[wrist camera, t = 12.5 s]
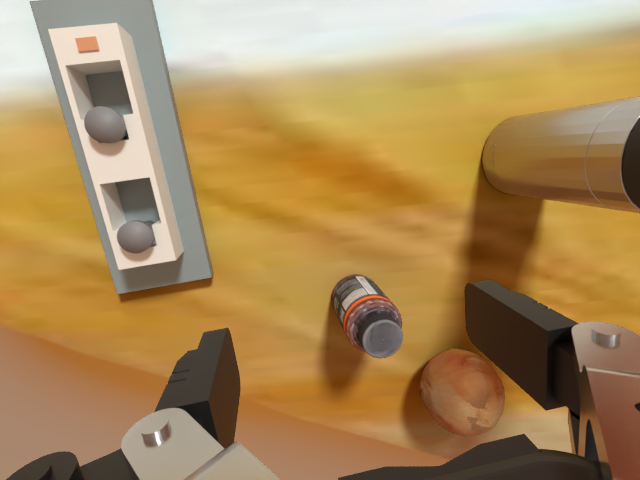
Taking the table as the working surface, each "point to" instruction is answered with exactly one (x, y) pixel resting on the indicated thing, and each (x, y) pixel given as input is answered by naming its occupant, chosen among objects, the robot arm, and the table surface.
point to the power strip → (123, 156)
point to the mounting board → (109, 127)
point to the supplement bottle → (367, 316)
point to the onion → (462, 392)
